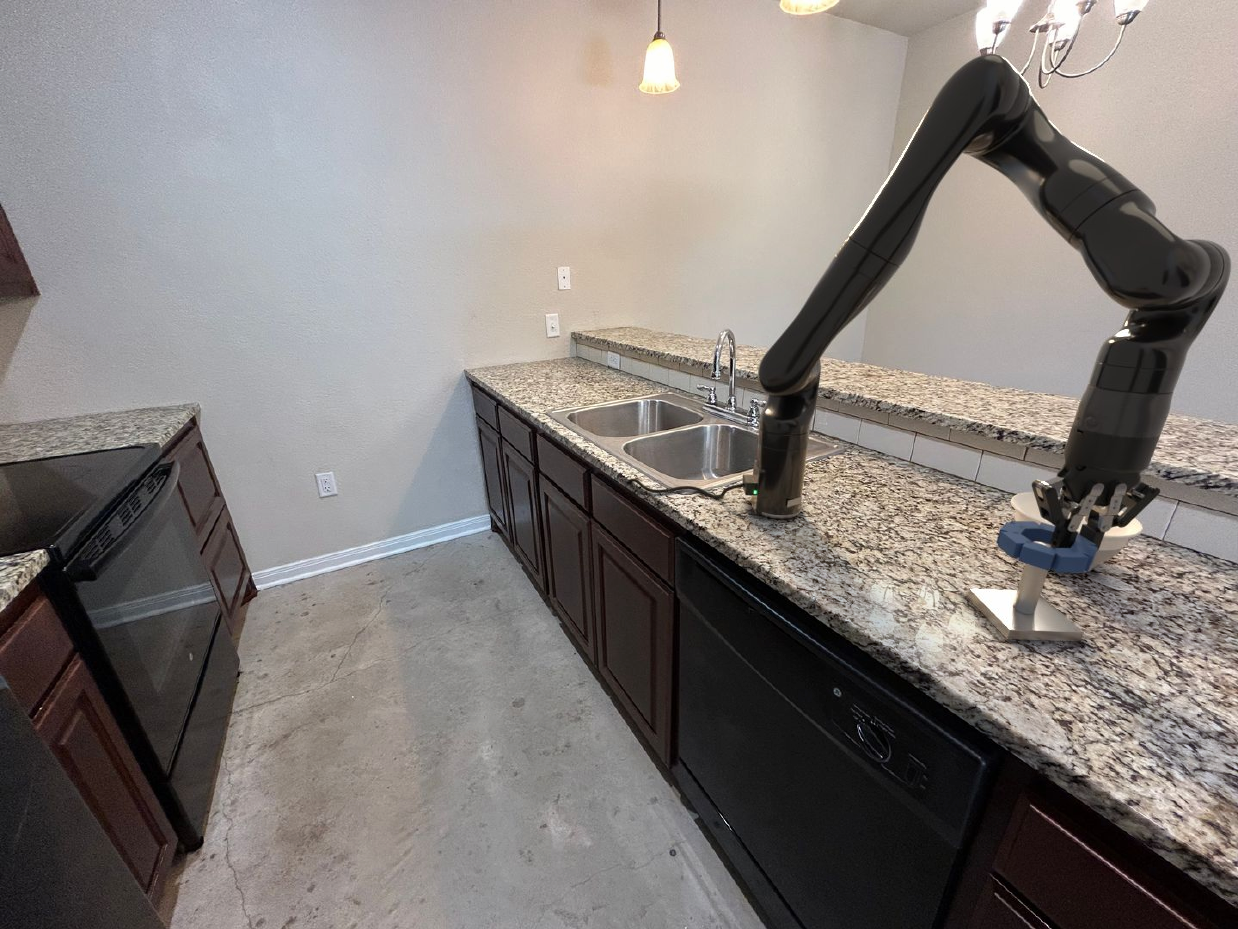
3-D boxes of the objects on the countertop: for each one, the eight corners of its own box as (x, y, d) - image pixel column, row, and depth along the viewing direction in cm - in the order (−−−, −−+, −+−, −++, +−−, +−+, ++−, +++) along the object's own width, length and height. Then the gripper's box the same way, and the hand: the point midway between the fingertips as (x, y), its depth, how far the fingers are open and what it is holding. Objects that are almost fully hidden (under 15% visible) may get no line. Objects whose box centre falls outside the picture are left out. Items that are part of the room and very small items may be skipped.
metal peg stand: (1006, 639, 65) (1031, 563, 61) (967, 597, 73) (986, 528, 69) (1080, 641, 64) (1110, 565, 60) (1032, 598, 72) (1055, 529, 68)
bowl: (1008, 525, 93) (1020, 483, 90) (1126, 557, 82) (1145, 510, 79) (988, 559, 82) (1001, 513, 79) (1120, 600, 72) (1142, 548, 69)
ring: (1029, 572, 61) (1033, 556, 60) (982, 534, 70) (986, 520, 69) (1111, 573, 60) (1117, 557, 59) (1054, 535, 69) (1059, 521, 68)
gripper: (1150, 416, 61) (1104, 539, 68) (1031, 416, 62) (996, 538, 69) (1213, 435, 54) (1155, 570, 61) (1078, 435, 55) (1035, 568, 62)
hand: (1071, 552), depth 65 cm, fingers closed on ring, 2 cm apart
